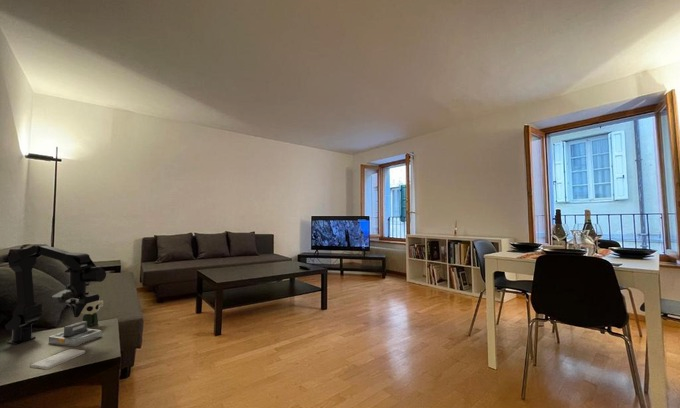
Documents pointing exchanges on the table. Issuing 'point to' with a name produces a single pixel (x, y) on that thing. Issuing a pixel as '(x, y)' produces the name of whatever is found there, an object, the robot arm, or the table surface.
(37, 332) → the table surface
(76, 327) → the dark grey block
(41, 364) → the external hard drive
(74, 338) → the rack
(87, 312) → the toy figurine
